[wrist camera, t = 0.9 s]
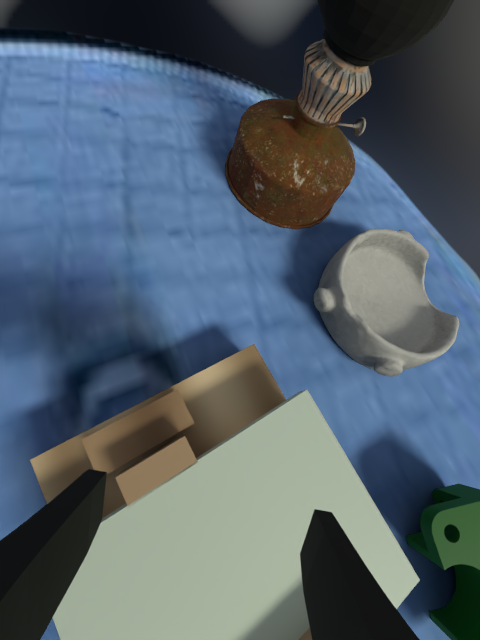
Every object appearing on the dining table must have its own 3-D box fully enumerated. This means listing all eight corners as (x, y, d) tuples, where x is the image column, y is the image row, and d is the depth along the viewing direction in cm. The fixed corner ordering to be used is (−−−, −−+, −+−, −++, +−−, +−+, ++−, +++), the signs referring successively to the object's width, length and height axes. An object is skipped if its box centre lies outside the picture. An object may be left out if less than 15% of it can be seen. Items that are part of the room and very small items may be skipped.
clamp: (376, 509, 29) (411, 487, 23) (433, 496, 30) (484, 470, 23) (458, 701, 22) (549, 755, 15) (533, 677, 22) (654, 719, 15)
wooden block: (101, 476, 18) (98, 480, 17) (86, 439, 18) (81, 439, 17) (191, 423, 20) (194, 423, 19) (175, 392, 21) (177, 389, 20)
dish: (373, 239, 37) (404, 211, 32) (444, 337, 34) (488, 322, 30) (281, 280, 31) (303, 253, 26) (358, 401, 28) (396, 395, 24)
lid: (154, 819, 14) (156, 983, 10) (42, 518, 16) (5, 546, 12) (386, 562, 20) (446, 594, 16) (279, 377, 23) (307, 363, 19)
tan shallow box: (156, 735, 17) (159, 841, 13) (47, 456, 20) (17, 462, 16) (349, 544, 24) (396, 569, 19) (242, 353, 27) (261, 337, 22)
